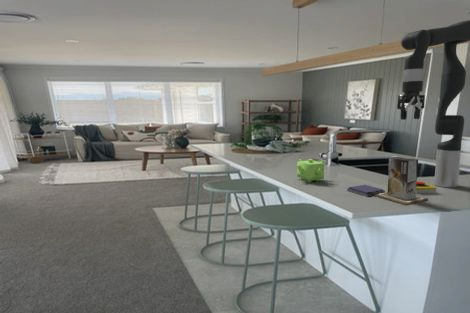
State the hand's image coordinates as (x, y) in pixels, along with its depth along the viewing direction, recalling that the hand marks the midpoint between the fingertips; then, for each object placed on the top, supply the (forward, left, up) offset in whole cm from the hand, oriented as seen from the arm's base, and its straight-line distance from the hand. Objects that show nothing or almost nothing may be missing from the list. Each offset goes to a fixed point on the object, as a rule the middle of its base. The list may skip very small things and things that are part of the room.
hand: (410, 119), depth 134 cm
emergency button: (-7, +2, -33) cm, 34 cm away
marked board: (+11, +6, -32) cm, 34 cm away
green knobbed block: (+22, -38, -32) cm, 55 cm away
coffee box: (+11, +6, -32) cm, 34 cm away
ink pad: (+16, -8, -32) cm, 37 cm away
